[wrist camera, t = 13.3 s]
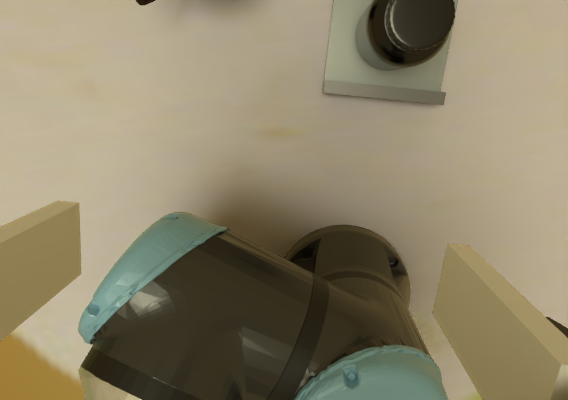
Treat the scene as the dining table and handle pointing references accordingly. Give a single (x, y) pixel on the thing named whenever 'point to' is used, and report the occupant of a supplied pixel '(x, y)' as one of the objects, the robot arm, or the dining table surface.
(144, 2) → the coffee mug
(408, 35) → the supplement bottle
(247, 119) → the dining table surface
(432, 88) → the slate pad
